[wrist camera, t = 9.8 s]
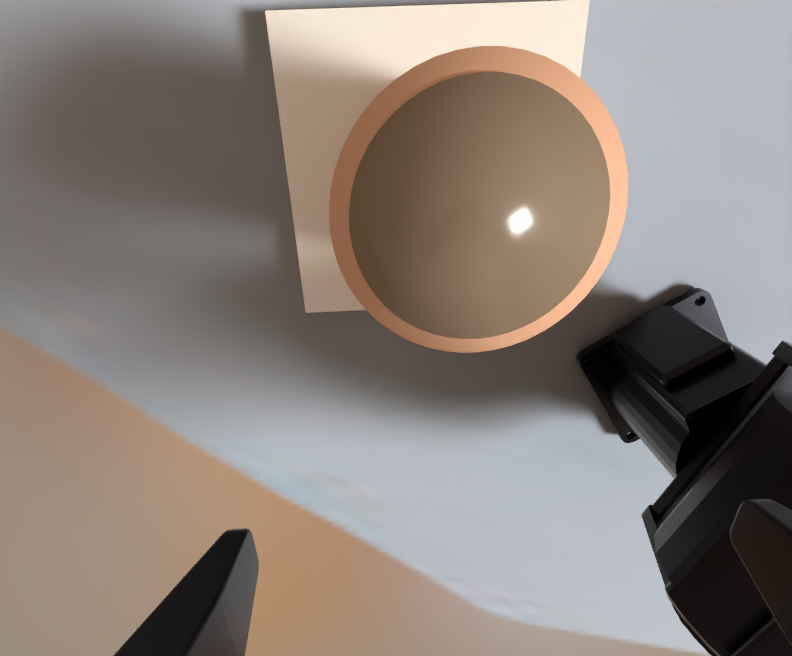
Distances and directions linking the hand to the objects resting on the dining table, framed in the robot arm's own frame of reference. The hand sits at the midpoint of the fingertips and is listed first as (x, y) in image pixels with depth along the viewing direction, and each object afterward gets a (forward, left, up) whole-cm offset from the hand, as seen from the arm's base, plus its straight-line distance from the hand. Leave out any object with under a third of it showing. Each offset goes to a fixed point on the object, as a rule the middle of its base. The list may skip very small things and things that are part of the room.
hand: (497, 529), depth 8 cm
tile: (+4, -3, -13) cm, 14 cm away
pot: (+4, -3, -12) cm, 13 cm away
